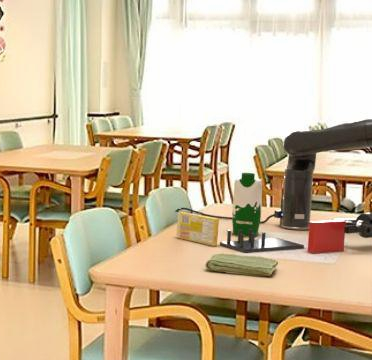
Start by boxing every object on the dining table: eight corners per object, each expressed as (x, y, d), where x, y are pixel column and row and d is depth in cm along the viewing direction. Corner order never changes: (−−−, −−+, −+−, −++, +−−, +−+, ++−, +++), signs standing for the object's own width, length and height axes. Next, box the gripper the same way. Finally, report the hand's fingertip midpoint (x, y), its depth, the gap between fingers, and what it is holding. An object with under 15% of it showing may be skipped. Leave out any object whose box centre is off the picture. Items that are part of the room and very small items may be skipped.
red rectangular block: (307, 252, 271) (309, 221, 270) (338, 249, 277) (340, 219, 276) (312, 253, 269) (314, 222, 268) (343, 250, 275) (345, 221, 274)
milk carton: (230, 235, 296) (233, 173, 293) (233, 231, 304) (236, 170, 302) (258, 237, 293) (261, 175, 291) (261, 233, 301) (264, 172, 299)
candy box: (218, 245, 277) (219, 218, 276) (213, 246, 276) (214, 219, 275) (180, 237, 290) (182, 211, 289) (175, 237, 289) (176, 211, 288)
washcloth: (273, 278, 235) (274, 265, 234) (204, 271, 240) (204, 259, 240) (278, 268, 247) (279, 256, 246) (211, 262, 253) (212, 250, 252)
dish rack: (219, 245, 278) (220, 228, 278) (277, 241, 288) (278, 225, 287) (244, 252, 267) (245, 235, 267) (303, 248, 277) (304, 231, 277)
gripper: (358, 209, 286) (318, 211, 279) (394, 216, 274) (353, 218, 267) (357, 233, 287) (316, 235, 280) (392, 241, 275) (351, 244, 268)
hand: (334, 227), depth 273 cm, fingers open, 8 cm apart
